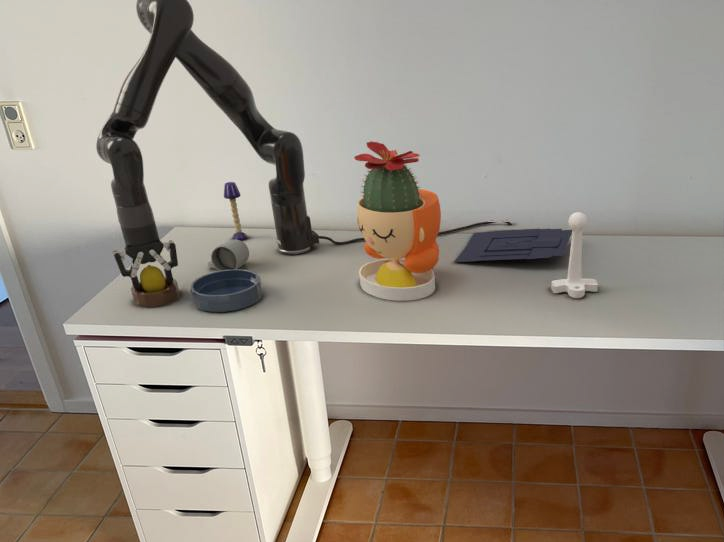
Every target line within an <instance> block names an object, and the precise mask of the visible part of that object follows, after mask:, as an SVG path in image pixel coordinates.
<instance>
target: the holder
mask: <svg viewBox="0 0 724 542" xmlns="http://www.w3.org/2000/svg"><path fill="white" fill-rule="evenodd" d="M164 277H165V282H166V284H165V288H164V290H162V291H157V292H151V293H148V292H146V291H145V290H144V289H143V287H142V285H141V282H140V281H139V284H140V288H141V291H138V290H137V289H134V287H133V285H132V286H131V287H130V291H131V295H132V298H133V301H134V304H135V305H136V306H138V307H140V308H141V307H142V308H157V307H163V306H166V305H169V304H172V303H174V302H175V301H177V300H178V299H179V298H180V296H181V295H180V294H181V293H180V289H179V284H178V282H177V280H176V279H175V278H173V282H171V285H168V283H167V280H166V276H164Z"/></svg>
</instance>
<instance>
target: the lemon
mask: <svg viewBox="0 0 724 542" xmlns="http://www.w3.org/2000/svg"><path fill="white" fill-rule="evenodd" d="M165 277H166V276H165V274H164V273H163V271H162V270H161V269H160V268H159V267H157V266H155V265H151V264H148V265H147V266H145V267H144V268H143V269H142V270H141V271H140V275H139V282H141V285H142V287H143V289H144V290H145V291H146V292H148V293H151V292H157V291H162V290H164V288H165V284H166V282H165Z"/></svg>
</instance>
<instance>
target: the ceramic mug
mask: <svg viewBox="0 0 724 542" xmlns="http://www.w3.org/2000/svg"><path fill="white" fill-rule="evenodd" d="M249 258H250V249H249V247H248V246H247V244H246V243H245V242H243V240H241V241H240V240H237V239H233V238H232V239H229V240H227V241H225V242H224V243H221V244H220V245H218V246H216V247H214V249H212V251H211V254H210V261H209V262H207V266H208V267H209V269H214V268H215V269H216V270H217V271H222V270H231V269H240V268H241V267H242V266H243V265H245V264H246V262H247V261H248V260H249Z"/></svg>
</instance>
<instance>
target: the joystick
mask: <svg viewBox="0 0 724 542" xmlns="http://www.w3.org/2000/svg"><path fill="white" fill-rule="evenodd" d="M568 226H569V228H570V230H572V234H571V242H570V249H569V250H570V251H569V259H568V266H567V276H566V278H561V279H554V280H552V281H551V284H550V285H551V286H550V287H551V288H550V291H551V292H552V293H553V294H559V293H567V294H568V296H569V297H570V298H572V299H581V298H583V297H584V296H585V294H586V292H594V293H596V292H598V288H599V287H598V286H599V283H598V282H597V279H595V278H583V231H584V229H586V227H587V226H588V217H587V215H585V214H584V213H583V212H580V211H576V212H573V213H572V214H571V215H570V216H569V218H568Z"/></svg>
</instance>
